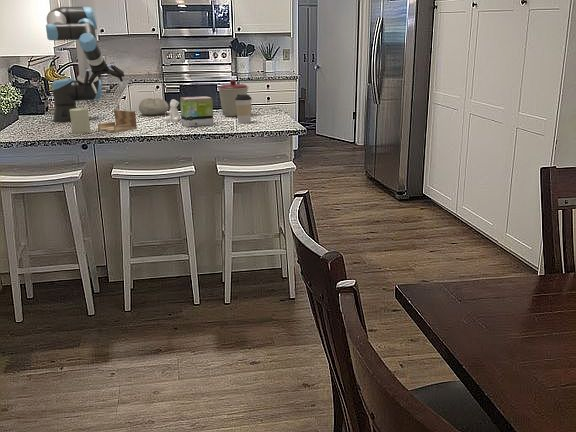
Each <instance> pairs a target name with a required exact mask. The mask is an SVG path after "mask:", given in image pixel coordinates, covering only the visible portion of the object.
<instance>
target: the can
mask: <svg viewBox="0 0 576 432" xmlns="http://www.w3.org/2000/svg"><path fill="white" fill-rule="evenodd" d="M69 111H70V117H71V121H70V123H71V133H72V134H87V133H90V132H92V131H91V125H90V124H91V123H90V116H89V115H90V114H89V108H87V107H86V108H85V107H77V108H75V109H70V110H69Z"/></svg>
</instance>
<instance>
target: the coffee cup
mask: <svg viewBox="0 0 576 432" xmlns="http://www.w3.org/2000/svg"><path fill="white" fill-rule="evenodd" d="M235 100H236V110H237V116H238V117H237V123H238V124H249V123H251V121H252V120H251V119H252V117H251V116H252V96H251V95H250V94H247V95H239V94H238V95H237V97H236V99H235Z"/></svg>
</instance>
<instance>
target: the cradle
mask: <svg viewBox="0 0 576 432" xmlns="http://www.w3.org/2000/svg"><path fill="white" fill-rule="evenodd" d="M136 129H138V127H137V117H136V111H134V110H126V109H125V110H124V109H114V121H109V122H104V123H98V124H97V131H98V132H99V131H100V132H107V133H115V134H116V133H120V132H126V131H132V130H136Z"/></svg>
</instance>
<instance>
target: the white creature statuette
mask: <svg viewBox="0 0 576 432" xmlns="http://www.w3.org/2000/svg"><path fill="white" fill-rule="evenodd" d="M179 105H180V101H177V100H176V99H175V98H174V99H171V100H170V102H169V109H168V113H169V115H167V116H165V117H163V118H162V121H163V122H164V121H166V122H170V121H171V122H172V121H173V122H172V123H178V122H179V121H181V114H180V113H179V109H178V108H177V107H178V106H179Z"/></svg>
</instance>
